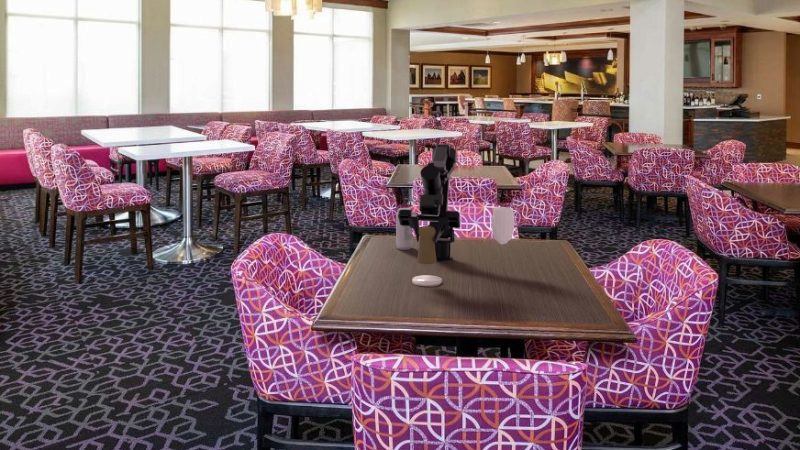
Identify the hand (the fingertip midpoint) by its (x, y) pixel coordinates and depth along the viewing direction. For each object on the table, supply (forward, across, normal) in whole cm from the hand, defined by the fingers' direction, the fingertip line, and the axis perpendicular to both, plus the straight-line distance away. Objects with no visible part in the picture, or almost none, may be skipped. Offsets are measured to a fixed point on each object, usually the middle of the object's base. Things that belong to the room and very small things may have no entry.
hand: (426, 241), depth 201 cm
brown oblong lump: (+4, 0, +6) cm, 7 cm away
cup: (-5, +22, +24) cm, 33 cm away
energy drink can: (-23, -16, +43) cm, 51 cm away
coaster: (+8, 0, +11) cm, 13 cm away
